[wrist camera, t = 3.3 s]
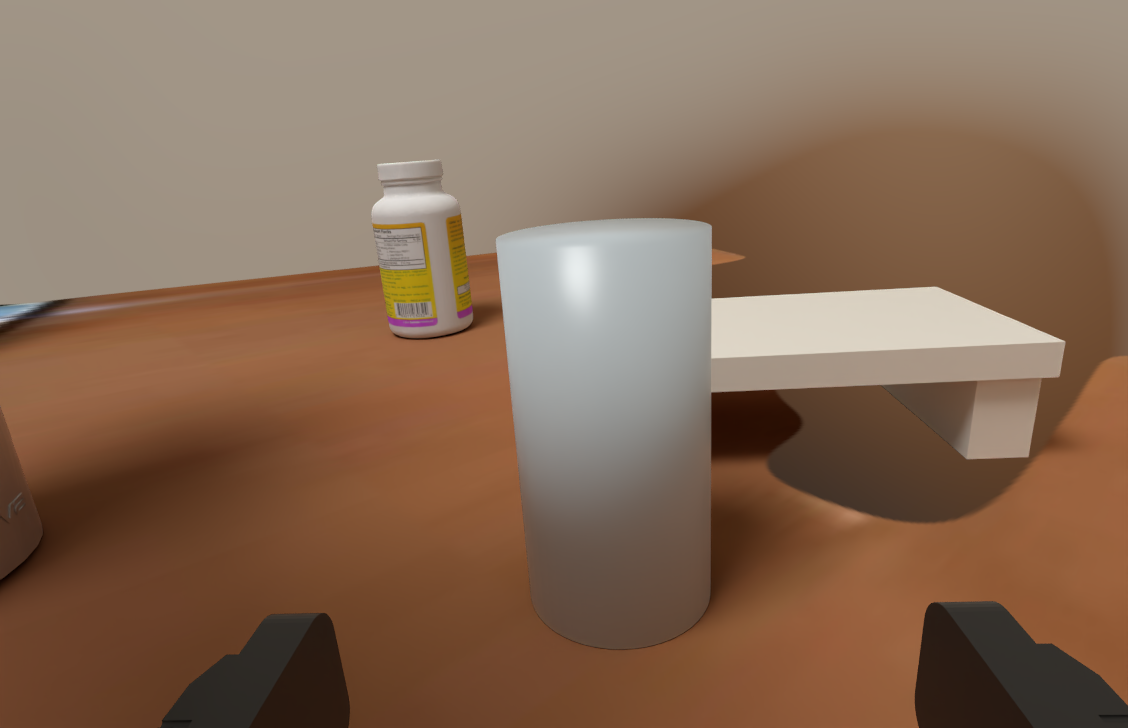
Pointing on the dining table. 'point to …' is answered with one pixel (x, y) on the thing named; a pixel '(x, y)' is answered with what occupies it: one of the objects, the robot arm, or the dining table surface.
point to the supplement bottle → (421, 252)
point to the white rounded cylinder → (612, 422)
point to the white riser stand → (894, 357)
